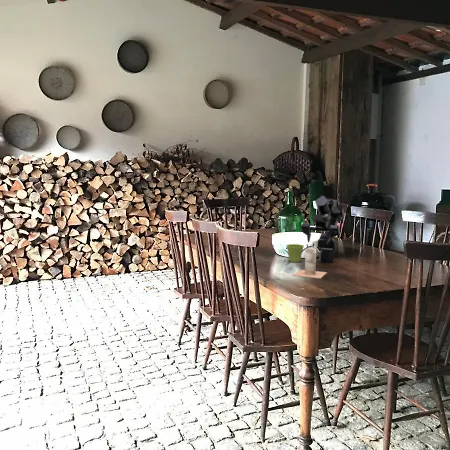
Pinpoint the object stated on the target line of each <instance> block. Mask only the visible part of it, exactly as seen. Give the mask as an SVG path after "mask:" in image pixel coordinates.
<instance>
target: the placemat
mask: <svg viewBox="0 0 450 450" xmlns="http://www.w3.org/2000/svg"><path fill="white" fill-rule="evenodd" d="M327 274H328V272H325V271H318V270H317V271H315V275H307V274H305V269H300V270H299V271H297V272H296V273H294V274H293V275H292V276H293V277H302V278H311V279H319V280H320V279H322V278H323V277H324V276H325V275H327Z"/></svg>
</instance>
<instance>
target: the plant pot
mask: <svg viewBox="0 0 450 450" xmlns="http://www.w3.org/2000/svg"><path fill="white" fill-rule="evenodd" d="M286 248H287V255H288V262H291V263H300V262H301V261H302V260H301V259H302V253H303V250H304V244H298V243H297V244H296V243H289V244H286Z"/></svg>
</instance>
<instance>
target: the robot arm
mask: <svg viewBox="0 0 450 450" xmlns="http://www.w3.org/2000/svg"><path fill="white" fill-rule="evenodd" d="M325 196H326V195H320V197H318V198H317V199H316V200H315V204H316V205H315V206H316V209H317V212H318V213H316V214H314V217H313V221H314V224H313V225H311V223H307V222H306V223H304V222H303V223H302V224H301V231H302V233H303V234H304V235H306V240H307V243H310V242H311V241H310V240H311V236H312V234H311V233H312V231H316V232H321V233H320V236H319V239H317V250H318V251H319V253H318V254H319V257H318V261H320V262H321V263H323V264H325V263H330V264H331V263H335V262H334V252H336V251H337V244H336V241H335V239H334V238H337V237H339V236H340V233H341V231H340V230H341V229H340V226H339V225H338V223H340V222H341V221H342V220H343V218H345V217H344V216H345V210H344V207H343V205H342V204H341V203H340V200H339V199H333V198H327V197H325Z"/></svg>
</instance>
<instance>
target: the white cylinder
mask: <svg viewBox="0 0 450 450" xmlns="http://www.w3.org/2000/svg"><path fill="white" fill-rule="evenodd" d="M304 249H305V251H304V252H305V253H304V255H305V256H304V261H305V262H304V270H305V274H307V275H315V271H316V269H317V267H316V265H317V264H316V263H317V249H316V248H313V247H307V248H304Z"/></svg>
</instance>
